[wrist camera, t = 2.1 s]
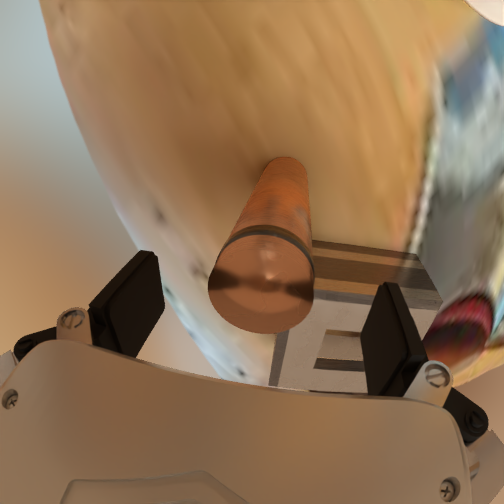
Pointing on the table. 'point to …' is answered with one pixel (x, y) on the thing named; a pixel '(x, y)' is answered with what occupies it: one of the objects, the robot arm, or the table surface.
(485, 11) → the panda figurine
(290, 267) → the tube
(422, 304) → the frame
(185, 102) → the table surface
